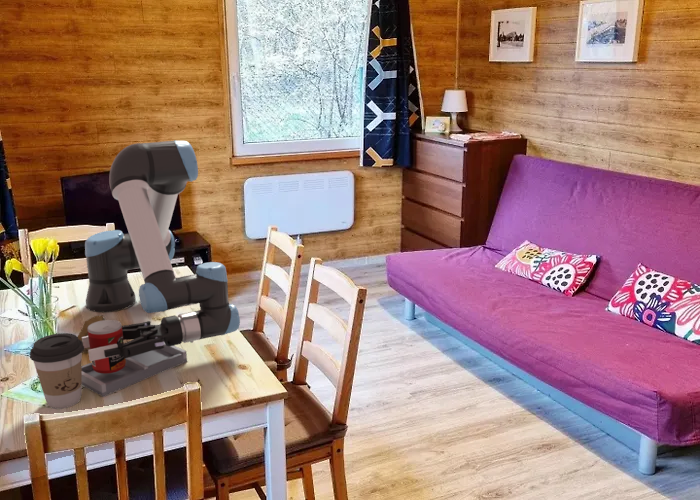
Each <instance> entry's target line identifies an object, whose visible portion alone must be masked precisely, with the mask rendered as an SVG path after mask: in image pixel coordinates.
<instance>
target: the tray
mask: <svg viewBox="0 0 700 500" xmlns="http://www.w3.org/2000/svg"><path fill="white" fill-rule="evenodd" d="M187 357H188V355H187V350H185V349H183V348H181V347H178V346H177V345H174V346H167V345H166V344H165V342H164V348H162V349H156V350H152V351H149V352H145V353H142V354H139V355H135V356H132V357H128V358H126V363H125V367H124V368H123V369H121V370H119V371H117V372H114V373H107V374H103V373H98V372H96V371H94V369H93V367H92V362H90V363H87V364H84V365H82V387H85V388H87V389H88V390H90V391H92V392H93V393H96V394H97V395H99V396H100V397H102V398H103V397H106V396H108V395H111V394H113V393H115V392H118V391H120V390H123V389H125V388H128V387H129V386H132V385H134V384H137V383H139V382H142V381H144V380H147V379H150V378H151V377H153V376H156V375H159V374H160V373H163V372H165V371H168V370H170V369H173V368H175V367H177V366H180V365H182V364H185V363H186V362H188V359H187Z"/></svg>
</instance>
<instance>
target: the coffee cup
mask: <svg viewBox="0 0 700 500" xmlns="http://www.w3.org/2000/svg"><path fill="white" fill-rule="evenodd" d="M77 336H78V335H76V334H74V333H69V332H64V333H63V332H59V333H54V334H53V333H52V334H50V335H49V334H48V335H45V336H42V337H41V338H39V339H37V340H36V341H35V342H34V343H33V347H32V348H31V349H30V351H29V359H30V360H31V361H33V364H34V367H35V370H36V374H37V376H38V380H39V383H40V387H41V390H42V392H43V396H44V400H45V402H46V404H47V406H48V407H49V408H51V409H55V410H56V409H59V410H60V409H61V410H62V409H66V408H70V407H72V406H73V407H74V406H75V405H76V404H79V402H80V401H81V397H82V387H83V385H82V366H83V364H82V363H83V353H82V351H83V350H84V346H83V342H82V341H81V340H79V339H78V337H77Z"/></svg>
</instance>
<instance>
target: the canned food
mask: <svg viewBox="0 0 700 500" xmlns="http://www.w3.org/2000/svg"><path fill="white" fill-rule="evenodd" d="M122 326H123V325H122V322H121V321H119V320H114V319H105V320H103V321H98V322H95V323H92V324H90V325H89V326H88V338H89V345H90V349H94V348H99V347H103V346H108V345H113V344H117V345H118V342H120V343H122V344H123V343H125V342H124V341H125V340H123V331H122ZM91 363H92V367H93V369H94V371H96V372H98V373H103V374H107V373H114V372H117V371H119V370H121V369H123V368H124V367H125V363H126V358H124V356H120V355H117V356H112V357H108V358H103V359H99V360H94V361H91Z"/></svg>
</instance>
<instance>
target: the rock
mask: <svg viewBox="0 0 700 500" xmlns="http://www.w3.org/2000/svg"><path fill="white" fill-rule="evenodd" d="M103 320H106V319H105V317H104V315H94V316H92V317H91V318H89V319H87V320H85V321H84V322H83V325H82V327H81V329H80V332H79V333H78V335H76V336H77V337H78V339H79V340H81V341H82V337H85V336H88V326H89V325H90V324H92V323H95V322H98V321H103ZM89 349H90V347H88V348H84V350H83V351H82V354H86V353H88V350H89Z"/></svg>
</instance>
